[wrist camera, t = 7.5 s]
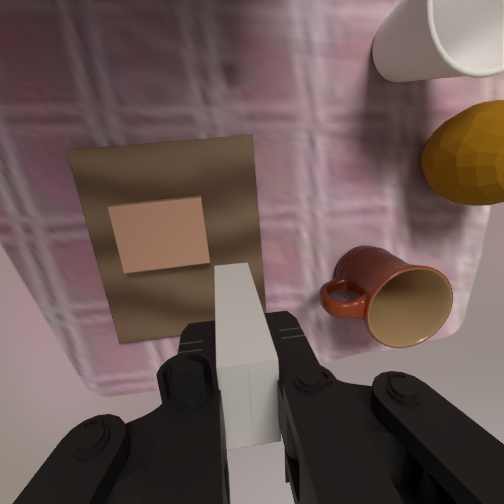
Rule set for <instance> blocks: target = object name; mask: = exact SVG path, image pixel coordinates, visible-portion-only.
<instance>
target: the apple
mask: <svg viewBox="0 0 504 504" xmlns="http://www.w3.org/2000/svg"><path fill="white" fill-rule="evenodd" d="M421 164H422V169H423V172H424V174H425V177H426V179H427V181H428V183H429V185H430V186H431V188H432V189H433V190H434V191H435V192H436V193H437V194H438V195H440V196H443V197H445V198H447V199H449V200H451V201H453V202H457V203H462V204H467V205H492V204H496V203H501V202H504V100H497V101H489V102H483V103H479V104H476V105H473V106H472V107H470V108H468V109H466V110H464V111H462V112H461V113H459V114H457V115H455V116H454V117H452V118H450V119H449V120H447V121H445V122H444V123H443V124H442V125H441V126H440V127H439V128H438V129H437V130H436V131H435V132H434V133H433V135H432V136H431V137H430V139H429V140H428V142H427V144H426V146H425V147H424V150H423V153H422V157H421Z"/></svg>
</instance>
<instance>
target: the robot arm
mask: <svg viewBox="0 0 504 504" xmlns="http://www.w3.org/2000/svg"><path fill="white" fill-rule="evenodd" d="M214 271H215V320H213V321H205V322H196V323H189V324H188V325H187V326H186V327H185V329H184V330H183V331H182V332H181V337H180V345H179V349H178V355H176V356H174V357H172V358H170V359H168V360H167V361H166V362H165V363H164V364H163V365H162V366H161V367H160V369H159V370H158V372H157V374H156V375H157V380H158V385H159V390H160V395H161V400H162V404H161V405H160V406H159V407H158V408H157V409H155V410H154V411H152V412H151V413H149V414H147V415H145V416H143V417H141V418H138V419H136V420H133V421H131V422H128V423H126V424H125V423H124V422H123V421H122V420H121V418H120V417H118V416H115V415H111V414H106V415H97V416H95V417H93V418H90V419H87V420H85V421H83V422H82V423H80V424H79V425H77V426H76V427H74V428H73V429H72V430H71V431H70V432H69V433H68V434H67V435H66V436H65V437H64V438H63V439H62V440H61V441H60V443H59V444H58V445H57V447H56V448H55V449H54V450H53V452H52V453H51V454H50V456H49V457H48V458H47V460H46V461H45V462H44V464H43V465H42V466H41V467H40V469H39V470H38V471H37V473H36V474H35V475H34V477H33V478H32V479H31V480H30V482H29V483H28V485H27V486H26V487H25V488H24V490H23V491H22V492H21V493H20V495H19V496H18V498H17V499H16V500H15V501H14V503H13V504H230V489H229V472H228V463H227V450H229V449H236V448H241V447H248V446H254V445H260V444H266V443H271V442H278V441H281V433H282V438H283V442H284V446H285V473H286V474H285V476H286V483H287V482H290V485H291V490H292V494H293V498H294V502H295V504H504V444H503V443H501V442H500V441H499V440H498V439H496V438H495V437H494V436H492V435H491V434H490V433H488V432H487V431H486V430H485V429H483V428H482V427H481V426H480V425H478V424H477V423H476V422H474V421H473V420H472V419H471V418H469V417H468V416H467V415H466V414H464V413H463V412H462V411H460V410H459V409H458V408H457V407H455V406H454V405H453V404H451V403H450V402H449V401H447V400H446V399H445V398H444V397H442V396H441V395H440V394H439V393H437V392H436V391H435V390H433V389H432V388H431V387H430V386H428V385H427V384H426V383H424V382H423V381H421V380H419V379H418V378H416V377H415V376H412V375H409V374H406V373H403V372H395V371H389V372H384V373H381V374H379V375H378V376H376V377H375V379H374V381H373V384H372V386H365V385H357V384H350V383H345V382H342V381H339V380H337V379H336V378H335V376H334V375H333V374H332V373H331V372H330V371H329V370H328V369H326V368H324V367H323V366H321V365H320V364H319V362H318V360H317V358H316V356H315V354H314V352H313V350H312V348H311V346H310V344H309V342H308V340H307V338H306V336H305V335H304V332H303V330H302V329H301V327H300V325H299V323H298V321H297V319H296V317H294V316H293V315H292V314H290V313H289V312H288V311H280V312H272V313H263V309H262V306H261V303H260V300H259V297H258V294H257V291H256V287H255V284H254V281H253V278H252V275H251V272H250V269H249V265H248V262H247V263H237V264H227V265H217V266H214Z"/></svg>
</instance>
